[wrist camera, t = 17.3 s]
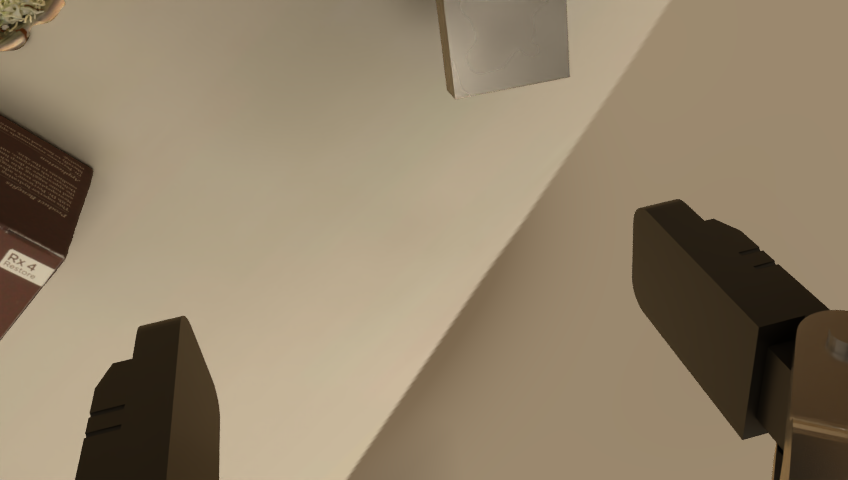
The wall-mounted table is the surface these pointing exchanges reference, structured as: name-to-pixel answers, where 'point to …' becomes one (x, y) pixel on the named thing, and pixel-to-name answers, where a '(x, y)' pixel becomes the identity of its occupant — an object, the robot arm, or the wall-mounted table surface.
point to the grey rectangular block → (502, 44)
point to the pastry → (24, 19)
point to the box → (34, 215)
